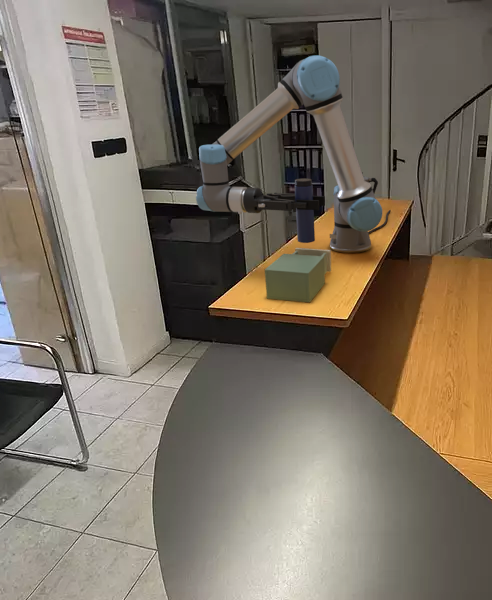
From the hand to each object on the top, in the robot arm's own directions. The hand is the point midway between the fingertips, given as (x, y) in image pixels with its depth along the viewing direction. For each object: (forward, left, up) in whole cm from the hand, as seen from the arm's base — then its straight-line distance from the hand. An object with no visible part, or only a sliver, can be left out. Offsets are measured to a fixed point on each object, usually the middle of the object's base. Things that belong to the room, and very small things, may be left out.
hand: (321, 203), depth 140 cm
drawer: (0, -5, -22) cm, 23 cm away
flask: (0, -5, -12) cm, 13 cm away
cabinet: (+12, -5, -23) cm, 26 cm away
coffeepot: (-96, -9, -24) cm, 100 cm away
